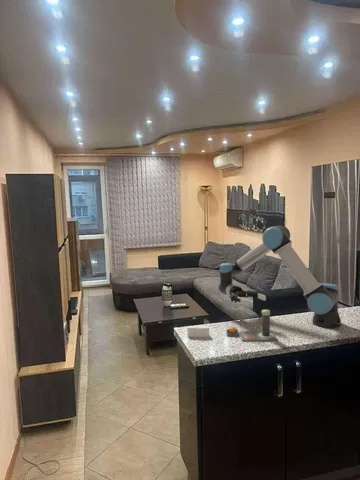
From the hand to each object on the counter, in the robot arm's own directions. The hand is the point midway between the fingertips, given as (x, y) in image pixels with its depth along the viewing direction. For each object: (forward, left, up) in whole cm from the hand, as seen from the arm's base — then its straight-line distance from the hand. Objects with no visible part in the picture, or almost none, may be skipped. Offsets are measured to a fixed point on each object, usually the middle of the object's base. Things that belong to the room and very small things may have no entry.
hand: (254, 300), depth 192 cm
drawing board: (0, +9, -17) cm, 19 cm away
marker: (-4, +9, -16) cm, 19 cm away
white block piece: (+32, +7, -18) cm, 37 cm away
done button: (+13, +5, -17) cm, 22 cm away
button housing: (+13, +5, -17) cm, 22 cm away
